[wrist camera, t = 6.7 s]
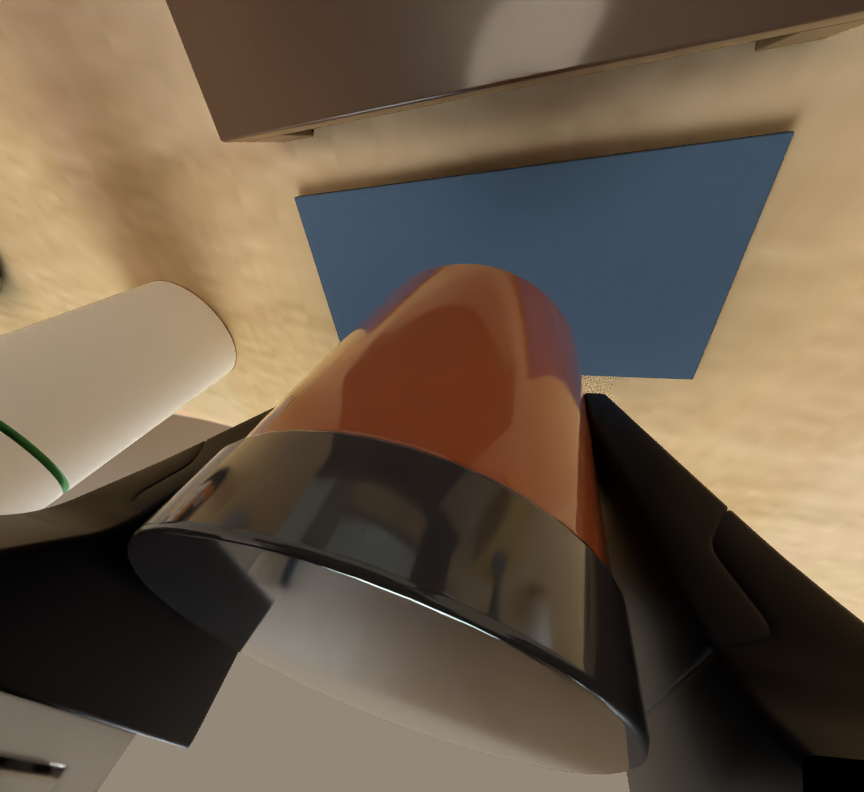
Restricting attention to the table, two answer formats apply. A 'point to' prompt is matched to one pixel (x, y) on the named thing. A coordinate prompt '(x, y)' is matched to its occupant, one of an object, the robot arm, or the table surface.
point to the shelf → (448, 49)
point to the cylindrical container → (99, 385)
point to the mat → (567, 243)
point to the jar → (423, 533)
